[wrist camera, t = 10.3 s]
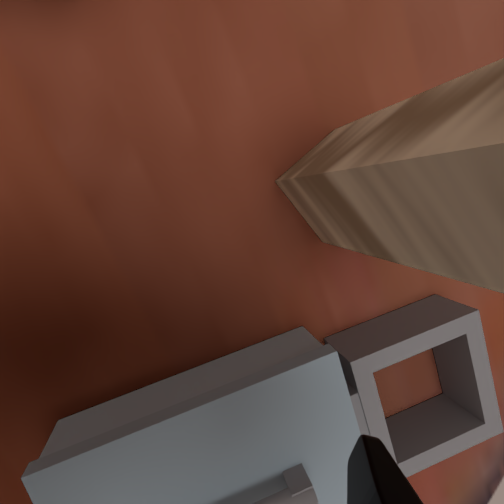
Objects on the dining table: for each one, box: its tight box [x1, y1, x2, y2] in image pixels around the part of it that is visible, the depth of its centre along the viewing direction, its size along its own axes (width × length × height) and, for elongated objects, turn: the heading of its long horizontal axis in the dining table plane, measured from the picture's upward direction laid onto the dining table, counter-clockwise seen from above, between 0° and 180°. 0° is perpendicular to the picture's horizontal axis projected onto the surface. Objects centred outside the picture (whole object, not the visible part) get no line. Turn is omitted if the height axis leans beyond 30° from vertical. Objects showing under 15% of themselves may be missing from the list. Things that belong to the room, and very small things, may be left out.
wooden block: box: [275, 58, 504, 293], centre depth 15 cm, size 4×4×15 cm
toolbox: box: [21, 294, 503, 504], centre depth 20 cm, size 23×10×6 cm, turn 108°
